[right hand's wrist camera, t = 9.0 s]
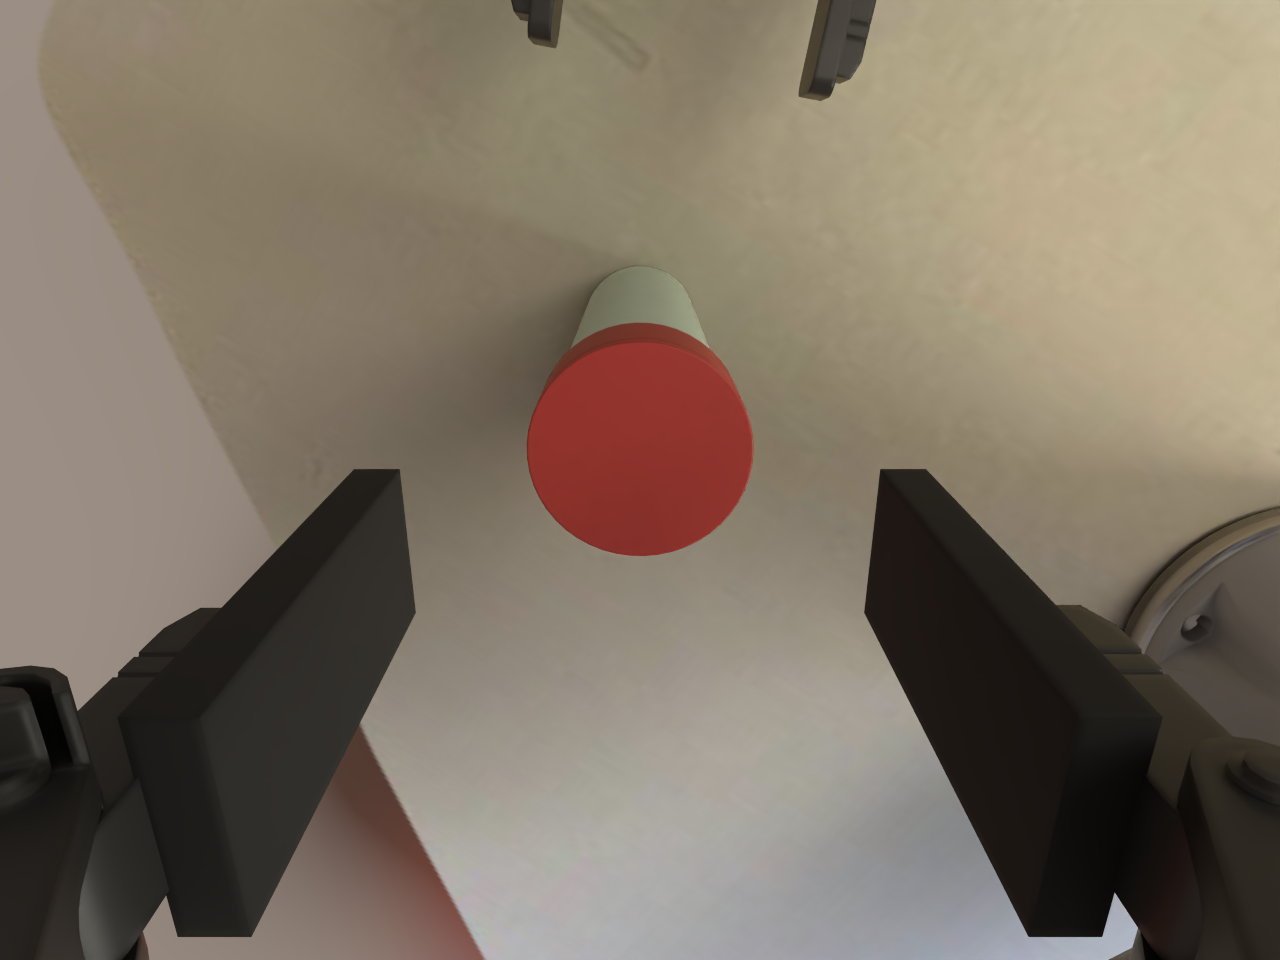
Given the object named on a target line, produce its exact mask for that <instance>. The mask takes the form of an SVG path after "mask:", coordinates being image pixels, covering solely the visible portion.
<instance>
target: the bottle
mask: <svg viewBox="0 0 1280 960" xmlns="http://www.w3.org/2000/svg"><path fill="white" fill-rule="evenodd" d="M636 322H637V323H654V324H660V325H665V326H668V327H672V328H675V329H678V330H680V331H682V332H685V333H687V334H689V335H691V336H692V337H694V338H696V339H697V340H699V341H700V342H702V343H703V344H704V345H705V346H707V347H708V348H709V346H708V343H707V341H706V338H705V336H704V333H703V331H702V328H701V325H700V323H699V320H698V318H697V315H696V313H695V310H694V307H693V305H692V302H691V300H690V298H689V296H688V294H687V292H686V291H685V289H684V288H683V286H682V285H681V284H680V283H679V282H678V281H677V280H676V279H675V278H673V277H672V276H671V275H669V274H667V273H666V272H664V271H661V270H659V269H656V268H653V267H647V266H634V267H628V268H624V269H621V270H619V271H616V272H614V273H613V274H611V275H609V276H608V277H607V278H605V279H604V280H603V281H602V282H601V283H600V284H599V285H598V287H597V288H596V289H595V291H594V292H593V294H592V296H591V298H590V300H589V303H588V305H587V308H586V310H585V313H584V316H583V318H582V321H581V323H580V326H579V328H578V331H577V334H576V336H575V339H574V341H573V344H572V346H571V348H572V347H573V346H575V345H576V344H577V343H579V342H580V341H581V340H583V339H584V338H586V337H588V336H590V335H592V334H593V333H595V332H597V331H600V330H603V329H605V328H608V327H611V326H616V325H620V324H626V323H636Z"/></svg>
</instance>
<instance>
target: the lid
mask: <svg viewBox="0 0 1280 960" xmlns="http://www.w3.org/2000/svg"><path fill="white" fill-rule="evenodd" d="M527 460H528V466H529V472H530V475H531V479H532V482H533V485H534V487H535V489H536V492H537V494H538V496H539V498H540V500H541V501H542V503H543V504H544V506H545V508H546V509H547V510H548V512H549V513H550V514H551V515H552V516H553V518H554V519H555V520H556V521H557V522H558V523H559V524H560V525H561V526H562V527H564V528H565V529H566V530H567V531H568V532H570V533H571V534H573V535H574V536H575V537H577V538H578V539H580V540H582V541H584V542H586V543H587V544H589V545H592V546H594V547H597V548H599V549H602V550H605V551H608V552H612V553H616V554H623V555H630V556H649V555H659V554H663V553H668V552H672V551H675V550H678V549H681V548H684V547H686V546H689V545H691V544H693V543H695V542H697V541H699V540H700V539H702V538H703V537H705V536H706V535H708V534H709V533H711V532H712V531H713V530H714V529H715V528H717V527H718V526H719V525H720V524H721V523H722V522H723V521H724V520H725V519H726V518H727V517H728V516H729V515H730V513H731V512H732V510H733V509H734V508H735V506H736V505H737V503H738V502H739V500H740V498H741V496H742V494H743V492H744V490H745V488H746V485H747V482H748V480H749V477H750V472H751V468H752V462H753V435H752V430H751V425H750V420H749V418H748V415H747V412H746V409H745V407H744V404H743V402H742V400H741V398H740V395H739V393H738V391H737V388H736V386H735V384H734V382H733V380H732V378H731V376H730V374H729V372H728V370H727V369H726V368H725V366H724V365H723V363H722V362H721V360H720V359H719V358H718V357H717V356H716V355H715V354H714V353H713V352H712V351H711V350H710V349H709V348H708V347H707V346H705V345H704V344H703V343H702V342H700V341H699V340H697V339H696V338H694V337H692V336H691V335H689V334H687V333H685V332H682V331H680V330H678V329H675V328H672V327H668V326H665V325H660V324H654V323H637V322H636V323H626V324H620V325H616V326H611V327H608V328H605V329H603V330H600V331H597V332H595V333H593V334H592V335H590V336H588V337H586V338H584V339H583V340H581V341H580V342H579V343H577V344H576V345H575V346H573V347H572V348H571V349H570V350H569V351H568V352H567V353H566V354H565V355H564V356H563V357H562V358H561V360H560V361H559V362H558V364H557V365H556V366H555V368H554V369H553V371H552V373H551V374H550V376H549V378H548V380H547V382H546V385H545V387H544V389H543V391H542V394H541V396H540V398H539V401H538V403H537V405H536V408H535V410H534V412H533V415H532V418H531V422H530V426H529V430H528V438H527Z"/></svg>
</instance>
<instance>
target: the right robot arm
mask: <svg viewBox="0 0 1280 960" xmlns="http://www.w3.org/2000/svg"><path fill="white" fill-rule="evenodd" d="M415 613H416V611H415V602H414V593H413V584H412V575H411V566H410V557H409V548H408V540H407V531H406V522H405V513H404V504H403V495H402V486H401V477H400V469H354V470H353V471H352V472H351V473H350V474H349V475H348V476H347V477H346V478H345V479H344V480H343V481H342V482H341V484H340V485H339V486H338V487H337V488H336V489H335V490H334V491H333V492H332V493H331V494H330V495H329V496H328V497H327V498H326V499H325V500H324V501H323V502H322V503H321V504H320V505H319V507H318V508H317V509H316V510H315V511H314V512H313V513H312V514H311V515H310V516H309V517H308V518H307V519H306V520H305V521H304V522H303V523H302V524H301V525H300V526H299V527H298V528H297V530H296V531H295V532H294V533H293V534H292V535H291V536H290V537H289V538H288V539H287V540H286V541H285V542H284V543H283V544H282V545H281V546H280V547H279V548H278V549H277V550H276V552H275V553H274V554H273V555H272V556H271V557H270V558H269V559H268V560H267V561H266V562H265V563H264V564H263V565H262V566H261V567H260V568H259V569H258V570H257V571H256V572H255V573H254V575H253V576H252V577H251V578H250V579H249V580H248V581H247V582H246V583H245V584H244V585H243V586H242V587H241V588H240V589H239V590H238V591H237V592H236V593H235V594H234V595H233V596H232V598H231V599H230V600H229V601H228V602H227V603H226V604H225V605H224V606H223V607H222V608H200V609H198V610H196V611H194V612H192V613H191V614H189V615H187V616H185V617H183V618H182V619H180V620H178V621H176V622H174V623H173V624H171V625H169V626H167V627H165V628H164V629H163V630H162V631H161V632H160V633H158V634H157V635H156V636H155V637H154V638H153V639H152V640H151V641H150V642H149V643H148V644H147V645H146V646H145V647H144V648H143V649H142V650H141V651H140V652H139V657H134V658H132V659H131V660H130V661H129V662H128V663H127V664H126V665H125V666H124V667H123V668H122V669H121V670H120V671H119V672H118V677H113V678H112V679H111V680H110V681H109V682H108V683H107V684H105V685H104V686H103V687H102V688H101V689H100V690H99V691H98V692H97V693H96V694H95V695H94V696H93V697H92V698H91V699H90V700H89V701H88V702H87V703H86V704H85V705H84V706H83V707H82V708H81V709H79V710H78V711H77V708H76V705H75V702H74V698H73V695H72V692H71V688H70V685H69V681H68V678H67V676H65V675H63V674H62V673H60V672H59V671H57V670H56V669H54V668H46V667H38V666H23V667H14V668H4V669H0V960H149V955H148V948H147V944H146V941H145V938H144V934H143V930H144V928H145V927H146V925H147V924H148V922H149V921H150V919H151V917H152V916H153V914H154V913H155V911H156V910H157V908H158V907H159V905H160V904H161V902H162V901H163V899H164V898H165V896H167V899H168V903H169V907H170V910H171V914H172V918H173V921H174V925H175V928H176V932H177V936H178V937H251V936H252V934H253V933H254V931H255V928H256V927H257V925H258V923H259V921H260V919H261V917H262V915H263V913H264V911H265V909H266V907H267V905H268V903H269V901H270V899H271V897H272V895H273V893H274V891H275V889H276V887H277V885H278V883H279V881H280V879H281V877H282V875H283V873H284V871H285V869H286V867H287V866H288V864H289V862H290V860H291V857H292V856H293V854H294V852H295V850H296V848H297V846H298V844H299V842H300V840H301V838H302V836H303V834H304V832H305V830H306V828H307V826H308V824H309V822H310V820H311V818H312V816H313V814H314V812H315V810H316V808H317V806H318V804H319V802H320V800H321V798H322V796H323V794H324V792H325V791H326V789H327V787H328V785H329V783H330V781H331V779H332V777H333V775H334V773H335V771H336V769H337V767H338V765H339V763H340V761H341V759H342V757H343V755H344V753H345V751H346V749H347V747H348V745H349V743H350V741H351V739H352V737H353V735H354V733H355V731H356V729H357V727H358V725H359V723H360V722H361V720H362V718H363V716H364V714H365V712H366V710H367V708H368V706H369V704H370V702H371V700H372V698H373V696H374V694H375V692H376V690H377V688H378V686H379V684H380V682H381V680H382V678H383V676H384V674H385V672H386V670H387V668H388V666H389V664H390V662H391V660H392V658H393V656H394V654H395V652H396V651H397V649H398V647H399V645H400V643H401V641H402V639H403V637H404V635H405V633H406V631H407V629H408V627H409V625H410V623H411V621H412V619H413V617H414V615H415ZM864 613H865V615H866V617H867V619H868V621H869V623H870V625H871V627H872V629H873V631H874V633H875V635H876V637H877V639H878V641H879V643H880V645H881V647H882V649H883V650H884V652H885V654H886V656H887V658H888V660H889V662H890V664H891V666H892V668H893V670H894V672H895V674H896V676H897V678H898V680H899V682H900V684H901V686H902V688H903V690H904V692H905V694H906V696H907V698H908V700H909V702H910V704H911V706H912V708H913V710H914V712H915V714H916V716H917V718H918V720H919V722H920V723H921V725H922V727H923V729H924V731H925V733H926V735H927V737H928V739H929V741H930V743H931V745H932V747H933V749H934V751H935V753H936V755H937V757H938V759H939V761H940V763H941V765H942V767H943V769H944V771H945V773H946V775H947V777H948V779H949V781H950V783H951V785H952V787H953V789H954V791H955V793H956V794H957V796H958V798H959V800H960V802H961V804H962V806H963V808H964V810H965V812H966V814H967V816H968V818H969V820H970V822H971V824H972V826H973V828H974V830H975V832H976V834H977V836H978V838H979V840H980V842H981V844H982V846H983V848H984V850H985V852H986V854H987V856H988V858H989V860H990V862H991V864H992V866H993V867H994V869H995V871H996V873H997V875H998V877H999V879H1000V881H1001V883H1002V885H1003V887H1004V889H1005V891H1006V893H1007V895H1008V897H1009V899H1010V901H1011V903H1012V905H1013V907H1014V909H1015V911H1016V913H1017V915H1018V917H1019V919H1020V921H1021V923H1022V925H1023V927H1024V929H1025V931H1026V933H1027V935H1028V937H1102V936H1103V932H1104V928H1105V925H1106V921H1107V918H1108V914H1109V910H1110V907H1111V903H1112V900H1113V896H1114V892H1115V893H1116V895H1117V896H1118V898H1119V899H1120V901H1121V902H1122V904H1123V905H1124V907H1125V908H1126V910H1127V912H1128V913H1129V915H1130V916H1131V918H1132V919H1133V921H1134V922H1135V924H1136V925H1137V927H1138V931H1137V934H1136V938H1135V941H1134V944H1133V948H1131V949H1129V950H1127V951H1125V952H1123V953H1121V954H1119V955H1117V956H1115V957H1113V958H1111V959H1109V960H1280V508H1277V509H1272V510H1269V511H1265V512H1262V513H1258V514H1255V515H1253V516H1250V517H1247V518H1245V519H1242V520H1239V521H1237V522H1235V523H1233V524H1231V525H1229V526H1226V527H1224V528H1222V529H1221V530H1219V531H1217V532H1215V533H1213V534H1212V535H1210V536H1208V537H1206V538H1205V539H1203V540H1202V541H1200V542H1199V543H1197V544H1196V545H1194V546H1193V547H1192V548H1190V549H1189V550H1188V551H1186V552H1185V553H1184V554H1182V555H1181V556H1180V557H1179V558H1178V559H1176V560H1175V561H1174V562H1173V563H1172V564H1171V565H1170V566H1169V567H1168V568H1167V569H1166V570H1165V571H1164V572H1163V573H1162V574H1161V575H1160V576H1159V577H1158V578H1157V579H1156V580H1155V581H1154V583H1153V584H1152V585H1151V586H1150V587H1149V589H1148V590H1147V591H1146V592H1145V594H1144V595H1143V597H1142V598H1141V600H1140V601H1139V603H1138V604H1137V606H1136V607H1135V609H1134V611H1133V613H1132V615H1131V617H1130V618H1129V620H1128V623H1127V625H1126V627H1125V630H1124V632H1123V631H1122V630H1121V629H1120V628H1119V627H1118V626H1117V625H1115V624H1113V623H1111V622H1110V621H1108V620H1106V619H1104V618H1102V617H1101V616H1099V615H1097V614H1095V613H1093V612H1091V611H1090V610H1088V609H1086V608H1084V607H1082V606H1081V605H1055V604H1054V603H1053V602H1052V601H1051V600H1050V599H1049V598H1048V596H1047V595H1046V594H1045V593H1044V592H1043V591H1042V590H1041V589H1040V588H1039V587H1038V586H1037V585H1036V584H1035V583H1034V582H1033V581H1032V580H1031V579H1030V578H1029V577H1028V576H1027V575H1026V573H1025V572H1024V571H1023V570H1022V569H1021V568H1020V567H1019V566H1018V565H1017V564H1016V563H1015V562H1014V561H1013V560H1012V559H1011V558H1010V557H1009V556H1008V555H1007V554H1006V553H1005V552H1004V550H1003V549H1002V548H1001V547H1000V546H999V545H998V544H997V543H996V542H995V541H994V540H993V539H992V538H991V537H990V536H989V535H988V534H987V533H986V532H985V531H984V530H983V528H982V527H981V526H980V525H979V524H978V523H977V522H976V521H975V520H974V519H973V518H972V517H971V516H970V515H969V514H968V513H967V512H966V511H965V510H964V509H963V508H962V507H961V505H960V504H959V503H958V502H957V501H956V500H955V499H954V498H953V497H952V496H951V495H950V494H949V493H948V492H947V491H946V490H945V489H944V488H943V487H942V486H941V485H940V484H939V482H938V481H937V480H936V479H935V478H934V477H933V476H932V475H931V474H930V473H929V472H928V471H927V470H926V469H880V477H879V486H878V495H877V504H876V513H875V522H874V531H873V540H872V549H871V557H870V566H869V575H868V584H867V593H866V602H865V611H864Z"/></svg>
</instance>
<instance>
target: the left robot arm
mask: <svg viewBox="0 0 1280 960" xmlns="http://www.w3.org/2000/svg"><path fill="white" fill-rule="evenodd" d="M511 1H512V6H513V10H514V12H515V14H516V15H517V16H518V17H519V19H520V20H524V21H528V38H529V39H530V40H531V41H532V43H533V44H536V45H541V46H546V47H552V48H556V46H557V42H558V36H559V29H560V20H561V12H562V4H563V0H511ZM875 3H876V0H818V4H817V9H816V14H815V18H814V23H813V27H812V32H811V36H810V41H809V45H808V50H807V54H806V59H805V63H804V68H803V73H802V77H801V82H800V87H799V97H803V98H808V99H813V100H818V101H821V100H824V99H827V98H829V97H830V95H831V93H832V91H833V88H834V85H835V83H839V84H840V83H842V82H845V81H847V80H849V79H851V77H852V76H853V74H854V73H855V71H856V69H857V68H858V66H859V65H860V63H861V61H862V57H863V53H864V49H865V45H866V39H867V36H868V32H869V28H870V23H871V20H872V16H873V12H874V7H875Z"/></svg>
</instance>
